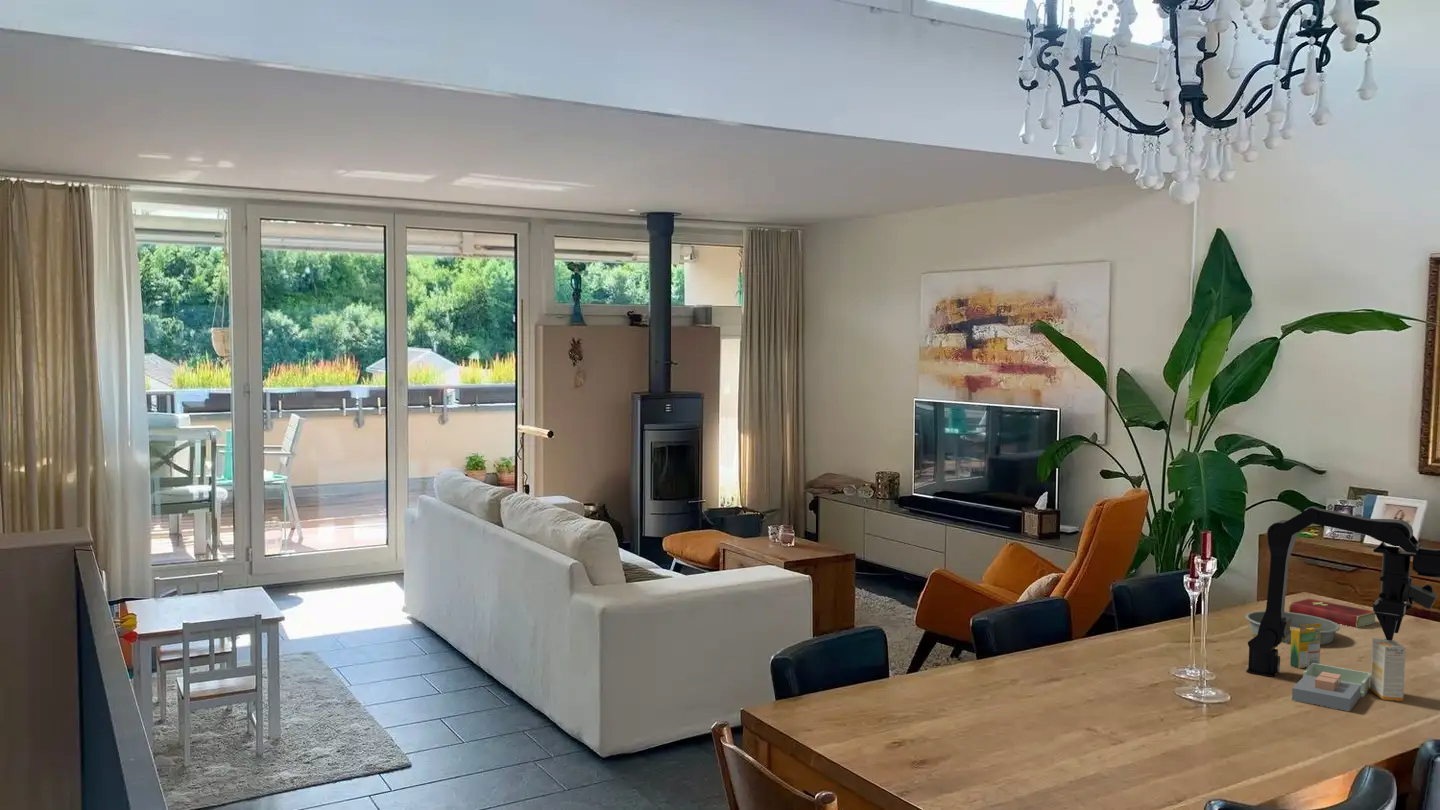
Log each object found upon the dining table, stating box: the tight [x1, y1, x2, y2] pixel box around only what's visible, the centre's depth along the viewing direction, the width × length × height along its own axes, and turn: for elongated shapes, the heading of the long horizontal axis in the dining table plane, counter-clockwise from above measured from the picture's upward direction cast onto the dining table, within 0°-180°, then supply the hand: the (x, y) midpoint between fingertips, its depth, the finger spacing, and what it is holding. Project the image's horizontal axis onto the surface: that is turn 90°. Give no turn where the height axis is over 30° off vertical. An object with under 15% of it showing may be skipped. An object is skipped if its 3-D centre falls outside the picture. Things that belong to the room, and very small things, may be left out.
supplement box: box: [1369, 638, 1407, 702], centre depth 262 cm, size 8×5×13 cm, turn 168°
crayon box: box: [1289, 623, 1321, 669], centre depth 286 cm, size 7×3×12 cm, turn 108°
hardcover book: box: [1288, 597, 1376, 629], centre depth 339 cm, size 12×21×4 cm, turn 34°
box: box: [1302, 663, 1371, 698], centre depth 269 cm, size 13×11×4 cm
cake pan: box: [1245, 610, 1341, 645], centre depth 318 cm, size 25×25×4 cm
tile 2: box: [1319, 672, 1341, 687], centre depth 262 cm, size 4×4×2 cm
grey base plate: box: [1291, 675, 1361, 712], centre depth 259 cm, size 12×14×3 cm
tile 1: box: [1315, 676, 1338, 691], centre depth 258 cm, size 4×4×2 cm
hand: (1392, 636), depth 261 cm, fingers open, 9 cm apart
